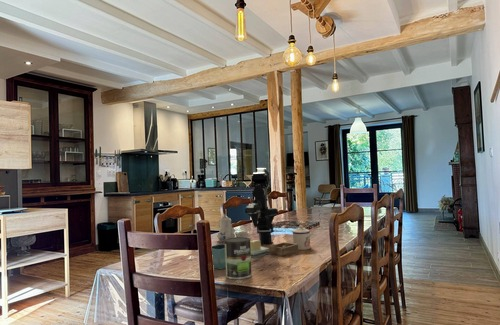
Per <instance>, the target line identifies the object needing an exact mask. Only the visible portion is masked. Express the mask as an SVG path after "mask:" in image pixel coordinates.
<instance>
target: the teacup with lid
mask: <svg viewBox="0 0 500 325" xmlns="http://www.w3.org/2000/svg"><path fill="white" fill-rule="evenodd" d="M310 231H311V230H310V229H308V228H306V227H303V225H299V226H298V227H297V228H295V229H293V230H292V231H291V232H292V242H293V244H298V251H304V250H305V251H307V250H310V249H311V238H310V237H311V236H310V234H311V232H310Z"/></svg>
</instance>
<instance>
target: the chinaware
mask: <svg viewBox="0 0 500 325" xmlns="http://www.w3.org/2000/svg"><path fill="white" fill-rule="evenodd" d="M218 228H219V232H218V234H217V237H216V238H217V239H218V240H219V242H220V241H224V240H225V239H228V238H235V237H246V238H249V237H248V236H249V233H250V232H249V231H239V232H237V231H236V230H237V228H234V227H233V225H232V219H231V217H228V216H227V215H226V213H224V215H223V216H222V218H219V219H218Z"/></svg>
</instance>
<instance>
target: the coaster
mask: <svg viewBox="0 0 500 325" xmlns="http://www.w3.org/2000/svg"><path fill="white" fill-rule="evenodd" d="M268 255H271V254H270V250H269V251H266V252H264V253H260V254H257V255H251V259H252V258H253V259H257V258H261V257H264V256H268Z"/></svg>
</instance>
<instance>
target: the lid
mask: <svg viewBox="0 0 500 325" xmlns="http://www.w3.org/2000/svg"><path fill="white" fill-rule="evenodd" d="M261 245H262V244H261V242H260V239H255V240H254V239H253V240H250V249H251V255H257V254H260V253H264V252H266V251H270V248H269V247H264V246H261Z"/></svg>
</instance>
